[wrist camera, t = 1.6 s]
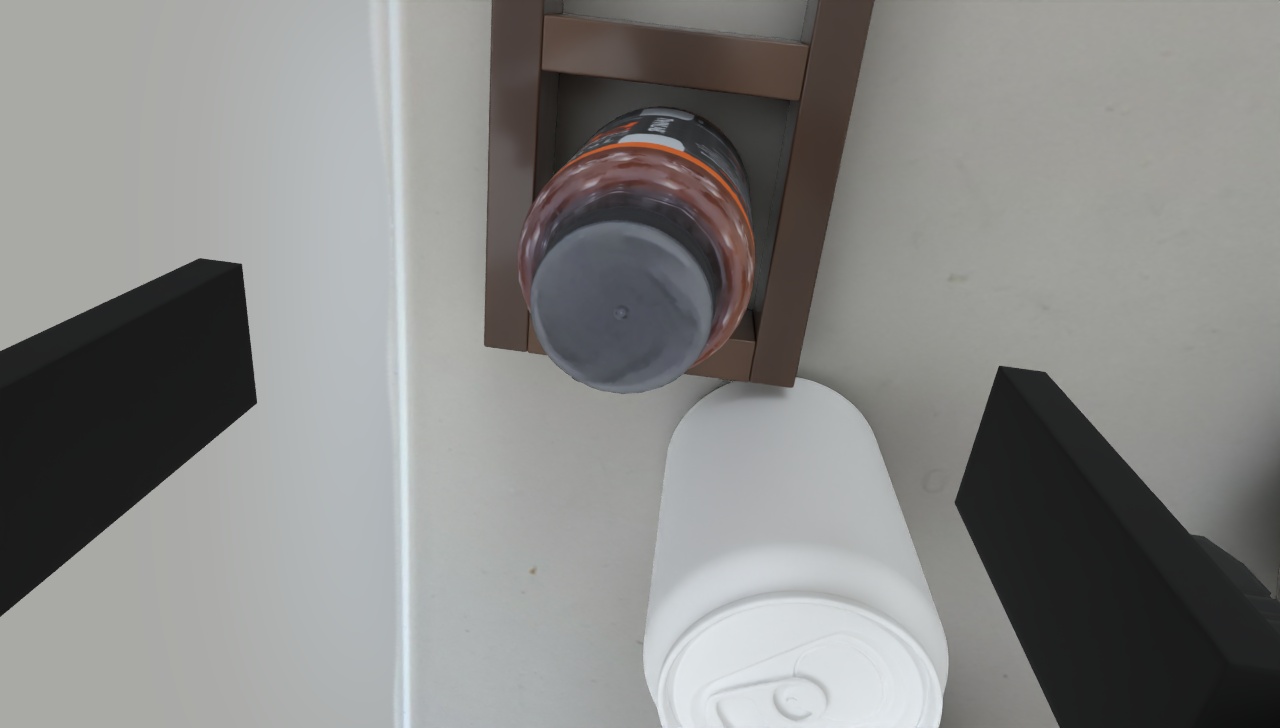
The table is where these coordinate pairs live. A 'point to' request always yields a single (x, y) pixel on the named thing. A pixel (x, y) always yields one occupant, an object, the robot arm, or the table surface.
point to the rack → (690, 58)
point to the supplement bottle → (640, 252)
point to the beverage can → (787, 573)
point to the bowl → (1278, 586)
